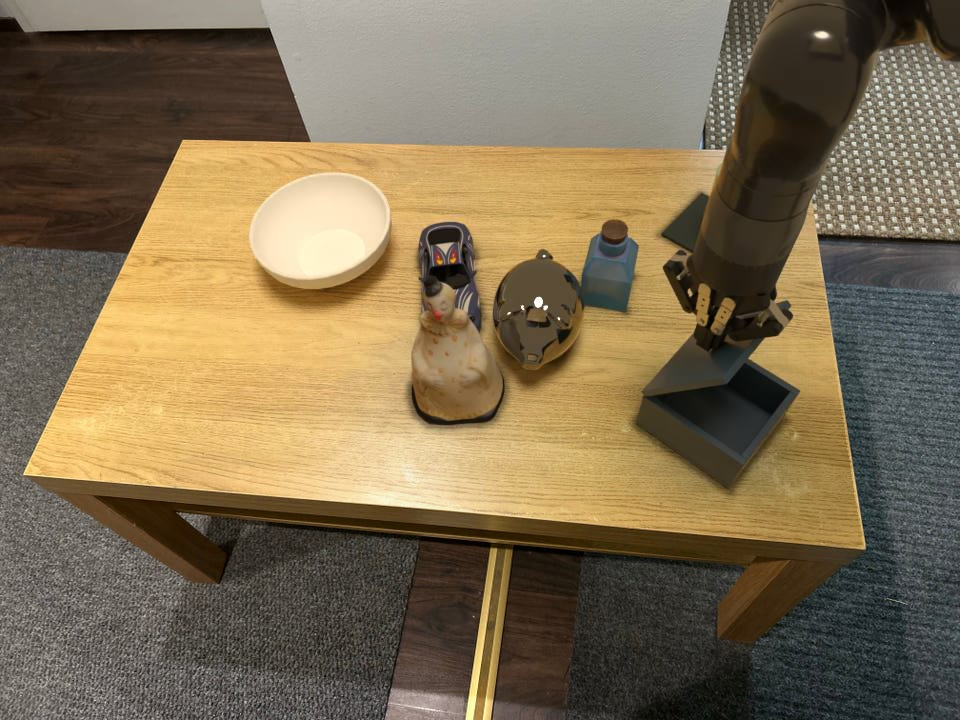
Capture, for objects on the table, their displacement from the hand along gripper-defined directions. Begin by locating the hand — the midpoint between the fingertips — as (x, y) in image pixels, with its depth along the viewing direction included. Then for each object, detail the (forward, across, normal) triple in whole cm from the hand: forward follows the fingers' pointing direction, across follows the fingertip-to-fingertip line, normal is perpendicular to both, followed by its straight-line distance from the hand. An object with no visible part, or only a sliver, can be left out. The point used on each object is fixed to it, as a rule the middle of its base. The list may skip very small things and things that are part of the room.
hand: (706, 342), depth 71 cm
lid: (+1, -1, 0) cm, 2 cm away
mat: (+14, +12, -25) cm, 31 cm away
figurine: (+14, +22, +16) cm, 31 cm away
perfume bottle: (+14, +18, -8) cm, 24 cm away
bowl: (+14, +52, +12) cm, 55 cm away
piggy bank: (+14, +20, +4) cm, 24 cm away
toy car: (+14, +34, +5) cm, 37 cm away
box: (+14, -4, 0) cm, 14 cm away
